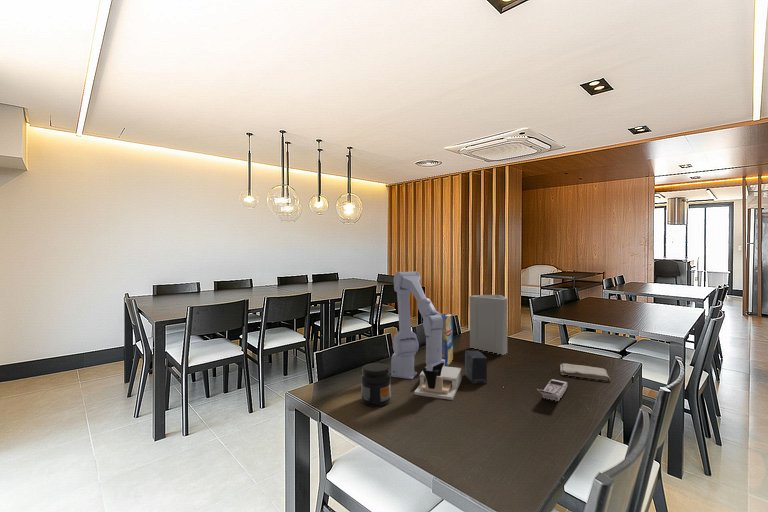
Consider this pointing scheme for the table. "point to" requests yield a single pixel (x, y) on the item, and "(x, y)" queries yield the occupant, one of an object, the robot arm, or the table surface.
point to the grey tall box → (488, 323)
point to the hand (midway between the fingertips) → (434, 384)
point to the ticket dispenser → (447, 374)
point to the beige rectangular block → (438, 385)
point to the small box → (476, 367)
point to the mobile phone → (554, 390)
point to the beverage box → (447, 339)
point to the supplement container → (375, 384)
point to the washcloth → (583, 371)
